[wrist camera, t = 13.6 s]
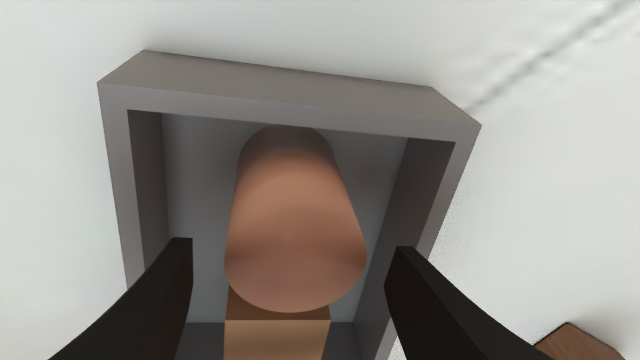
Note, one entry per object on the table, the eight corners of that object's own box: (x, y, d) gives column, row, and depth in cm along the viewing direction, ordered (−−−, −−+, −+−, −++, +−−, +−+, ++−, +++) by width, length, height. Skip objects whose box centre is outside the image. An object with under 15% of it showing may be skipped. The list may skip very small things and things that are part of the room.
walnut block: (307, 307, 24) (315, 380, 20) (230, 306, 23) (222, 383, 19) (318, 250, 22) (331, 319, 18) (233, 247, 21) (225, 320, 17)
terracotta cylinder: (329, 208, 20) (355, 310, 14) (238, 207, 19) (225, 314, 14) (341, 125, 18) (378, 206, 12) (237, 120, 17) (221, 204, 11)
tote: (358, 319, 27) (376, 387, 23) (164, 320, 24) (143, 396, 20) (431, 87, 18) (482, 125, 14) (142, 49, 16) (96, 82, 11)
